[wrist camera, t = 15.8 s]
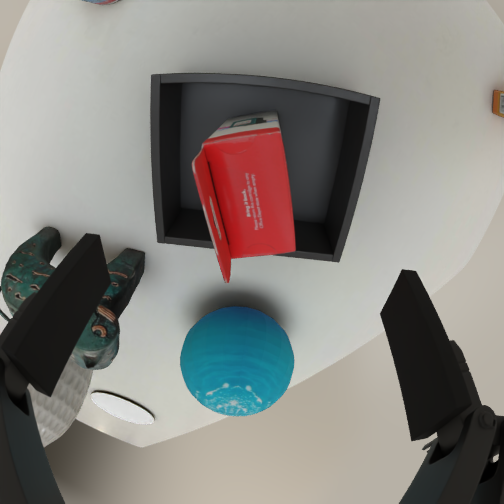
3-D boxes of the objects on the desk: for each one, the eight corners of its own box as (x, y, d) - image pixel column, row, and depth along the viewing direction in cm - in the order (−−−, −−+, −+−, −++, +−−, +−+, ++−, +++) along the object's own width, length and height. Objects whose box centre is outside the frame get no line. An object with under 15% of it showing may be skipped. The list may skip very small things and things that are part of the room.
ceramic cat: (157, 249, 36) (92, 384, 19) (155, 284, 39) (104, 410, 23) (40, 215, 34) (-44, 307, 17) (46, 250, 37) (-24, 342, 21)
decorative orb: (190, 340, 46) (171, 419, 34) (195, 273, 38) (165, 369, 25) (278, 355, 47) (276, 435, 35) (305, 293, 38) (314, 392, 26)
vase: (45, 309, 47) (-15, 421, 23) (82, 305, 44) (15, 442, 21) (79, 349, 53) (35, 455, 30) (119, 350, 51) (74, 475, 28)
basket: (356, 92, 24) (380, 98, 18) (328, 227, 32) (339, 262, 27) (177, 73, 23) (151, 74, 18) (176, 210, 32) (157, 242, 27)
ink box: (289, 188, 29) (301, 282, 17) (242, 195, 30) (222, 290, 18) (277, 108, 25) (284, 141, 13) (225, 116, 25) (182, 159, 13)
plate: (135, 423, 79) (134, 426, 78) (82, 394, 71) (81, 397, 70) (168, 418, 70) (167, 421, 69) (107, 384, 62) (105, 388, 61)
